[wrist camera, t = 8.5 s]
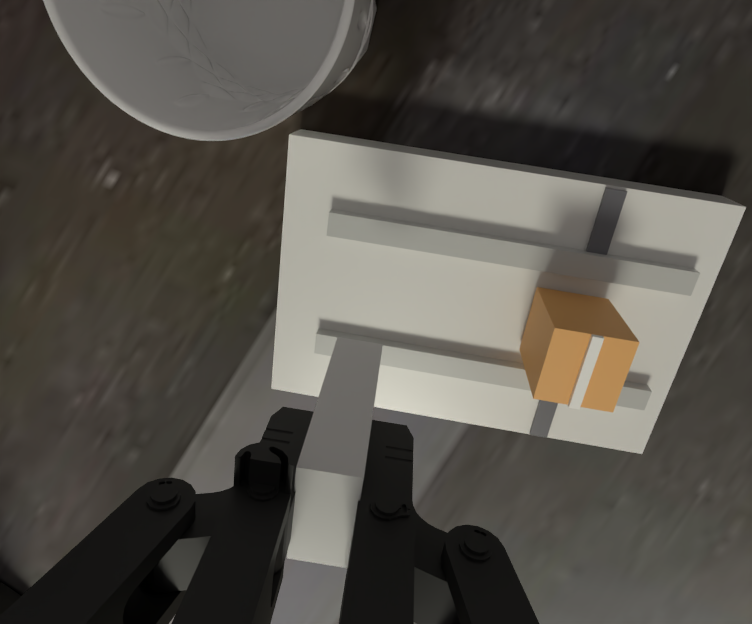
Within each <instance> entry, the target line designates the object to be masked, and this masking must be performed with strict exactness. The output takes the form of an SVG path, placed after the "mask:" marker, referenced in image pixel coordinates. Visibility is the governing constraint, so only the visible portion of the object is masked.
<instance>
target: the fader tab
mask: <svg viewBox="0 0 752 624" xmlns="http://www.w3.org/2000/svg"><path fill="white" fill-rule="evenodd" d="M639 343H640V342H639V341H638V339H637V338H636V336H635V335H634V334H633V332H632V331H631V329H630V328H629V327H628V325H627V324H626V323H625V321H624V320H623V318H622V317H621V316H620V314H619V313H618V311H617V310H616V309H615V307H614V306H613V304H612V303H611V302H610V300H609V299H607V298H601V297H594V296H588V295H582V294H576V293H570V292H564V291H558V290H552V289H546V288H540V287H537V288H536V291H535V295H534V299H533V302H532V306H531V309H530V313H529V316H528V320H527V324H526V327H525V331H524V334H523V338H522V341H521V345H520V349H519V350H520V354H521V357H522V361H523V364H524V368H525V371H526V375H527V379H528V382H529V386H530V389H531V393H532V396H533V399H538V400H543V401H549V402H555V403H561V404H566V405H568V407H569V408H573V409H579V410H580V407H584V408H589V409H595V410H601V411H607V412H612V413H613V411H614V409H615V406H616V403H617V401H618V398H619V395H620V393H621V390H622V388H623V385H624V382H625V380H626V377H627V374H628V372H629V369H630V367H631V364H632V361H633V359H634V356H635V353H636V351H637V348H638V346H639Z"/></svg>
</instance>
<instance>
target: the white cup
mask: <svg viewBox="0 0 752 624" xmlns="http://www.w3.org/2000/svg"><path fill="white" fill-rule="evenodd" d="M43 2H44V4H45V7H46V10H47V12H48V15H49V17H50V19H51V21H52V24H53V26H54V28H55V30H56V32H57V34H58V36H59V37H60V39H61V41H62V43H63V44H64V46H65V48H66V49H67V51H68V53H69V54H70V56H71V57H72V59H73V60H74V61H75V63H76V64H77V65H78V67H79V68H80V69H81V71H82V72H83V73H84V74H85V76H86V77H87V78H88V79H89V80H90V81H91V82H92V83H93V85H94V86H95V87H96V88H97V89H98V90H99V91H100V92H101V93H102V94H104V95H105V96H106V97H107V98H108V99H109V100H110V101H112V102H113V103H114V104H115V105H117V106H118V107H119V108H120V109H122V110H123V111H125V112H126V113H128V114H129V115H131V116H132V117H134V118H136V119H137V120H139V121H141V122H143V123H145V124H146V125H149V126H151V127H153V128H155V129H157V130H160V131H162V132H165V133H168V134H171V135H175V136H178V137H182V138H187V139H193V140H202V141H225V140H233V139H239V138H243V137H247V136H251V135H254V134H257V133H260V132H262V131H264V130H267V129H269V128H271V127H273V126H275V125H277V124H278V123H280V122H282V121H284V120H285V119H287V118H289V117H291V116H292V115H294V114H296V113H298V112H299V111H301V110H303V109H305V108H307V107H309V106H311V105H312V104H314V103H315V102H317V101H318V100H320V99H321V98H322V97H324V96H325V95H326V94H328V93H329V92H331V91H332V90H333V89H335V88H336V87H337V86H338V85H339V84H340V83H341V82H343V81H344V80H345V79H346V78H347V76H348V75H349V74H350V72H351V71H352V70H353V68H354V67H355V66H356V64H357V63H358V62H359V60H360V59H361V58H362V56H363V55H364V54H365V52H366V51H367V49H368V45H369V40H370V36H371V32H372V27H373V23H374V19H375V14H376V10H377V7H376V1H375V0H43Z"/></svg>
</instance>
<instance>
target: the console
mask: <svg viewBox="0 0 752 624" xmlns="http://www.w3.org/2000/svg"><path fill="white" fill-rule="evenodd" d="M745 209H746V207H745V206H743V205H741V204H739V203H736V202H734V201H732V200H730V199H728V198H726V197H724V196H720V195H713V194H707V193H701V192H694V191H688V190H682V189H676V188H669V187H663V186H657V185H650V184H644V183H638V182H631V181H625V180H619V179H612V178H606V177H600V176H593V175H587V174H581V173H574V172H568V171H562V170H556V169H549V168H543V167H537V166H530V165H524V164H518V163H511V162H505V161H499V160H492V159H486V158H480V157H473V156H467V155H461V154H454V153H448V152H442V151H435V150H429V149H423V148H417V147H410V146H404V145H398V144H391V143H385V142H379V141H372V140H366V139H360V138H353V137H347V136H341V135H334V134H328V133H322V132H315V131H309V130H303V129H300V130H298V131H296V132H293V133H291V134H289V145H288V159H287V173H286V188H285V202H284V216H283V230H282V244H281V259H280V273H279V287H278V301H277V316H276V330H275V344H274V358H273V373H272V387H271V389H277V390H282V391H288V392H294V393H299V394H305V395H311V396H316V397H319V394H320V391H321V387H322V384H323V381H324V378H325V375H326V372H327V369H328V365H329V362H330V359H331V356H332V353H333V350H334V346H335V343H336V340H337V337H341V338H347V339H353V340H360V341H366V342H372V343H378V344H383V346H382V353H381V360H380V367H379V374H378V382H377V389H376V396H375V403H374V407H379V408H384V409H390V410H396V411H401V412H407V413H413V414H418V415H424V416H430V417H435V418H441V419H447V420H452V421H458V422H464V423H469V424H475V425H481V426H486V427H492V428H498V429H503V430H509V431H515V432H520V433H526V434H530V435H534V436H539V437H545V438H547V437H549V438H554V439H560V440H566V441H571V442H577V443H583V444H588V445H594V446H600V447H605V448H611V449H617V450H622V451H628V452H634V453H639V454H642V453H643V450H644V448H645V446H646V443H647V441H648V439H649V436H650V434H651V432H652V429H653V427H654V424H655V422H656V420H657V417H658V415H659V413H660V410H661V408H662V405H663V403H664V401H665V398H666V396H667V394H668V391H669V389H670V387H671V384H672V382H673V379H674V377H675V375H676V372H677V370H678V368H679V365H680V363H681V360H682V358H683V356H684V353H685V351H686V349H687V346H688V344H689V342H690V339H691V337H692V334H693V332H694V330H695V327H696V325H697V323H698V320H699V318H700V315H701V313H702V311H703V308H704V306H705V304H706V301H707V299H708V297H709V294H710V292H711V289H712V287H713V285H714V282H715V280H716V278H717V275H718V273H719V270H720V268H721V266H722V263H723V261H724V259H725V256H726V254H727V252H728V249H729V247H730V244H731V242H732V240H733V237H734V235H735V233H736V230H737V228H738V225H739V223H740V221H741V218H742V216H743V214H744V211H745ZM537 287H540V288H546V289H552V290H558V291H564V292H570V293H576V294H582V295H588V296H594V297H601V298H607V299H609V300H610V302H611V303H612V304H613V306H614V307H615V309H616V310H617V311H618V313H619V314H620V316H621V317H622V318H623V320H624V321H625V323H626V324H627V325H628V327H629V328H630V329H631V331H632V332H633V334H634V335H635V336H636V338H637V339H638V341H639V342H640V343H639V346H638V348H637V351H636V353H635V356H634V359H633V361H632V364H631V367H630V369H629V372H628V374H627V377H626V380H625V382H624V385H623V388H622V390H621V393H620V395H619V398H618V401H617V403H616V406H615V409H614V411H613V413H612V412H607V411H601V410H595V409H589V408H584V407H580V410H579V409H573V408H569V407H568V405H566V404H561V403H555V402H549V401H543V400H538V399H533V396H532V393H531V389H530V386H529V382H528V379H527V375H526V371H525V368H524V364H523V361H522V357H521V354H520V350H519V349H520V345H521V341H522V338H523V334H524V331H525V327H526V324H527V320H528V316H529V313H530V309H531V306H532V302H533V299H534V295H535V291H536V288H537Z"/></svg>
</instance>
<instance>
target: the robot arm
mask: <svg viewBox="0 0 752 624" xmlns="http://www.w3.org/2000/svg"><path fill="white" fill-rule="evenodd" d="M382 346H383V344H378V343H372V342H366V341H360V340H353V339H347V338H341V337H337V340H336V343H335V346H334V350H333V353H332V356H331V359H330V362H329V365H328V369H327V372H326V375H325V378H324V381H323V384H322V387H321V391H320V394H319V397H318V400H317V403H316V406H315V410H314V412H312V411H306V410H299V409H293V408H287V407H282V408H281V409H280V410H279V411H277V412H276V413H275V414H273V415H272V416H271V418H270V421H269V423H268V425H267V427H266V430H265V432H264V434H263V437H262V440H261V441H260V443H255V444H251V445H248V446H246V447H244V448H243V449H241V450H240V451H239V452H238V453H237V455H236V456H235V470H234V486H233V487H232V488H230V489H227V490H224V491H220V492H214V493H204V494H195V490H194V489H193V487H192V486H191V484H189V483H187V482H185V481H184V480H181V479H175V478H162V479H157V480H154V481H151V482H148V483H146V484H145V485H143V486H142V487H140V488H139V489H138V490H136V491H135V492H134V493H133V494H132V495H131V496H130V497H129V498H128V499H127V500H126V501H124V502H123V503H122V504H121V505H120V506H119V507H118V508H117V509H116V510H115V511H114V512H112V513H111V514H110V515H109V516H108V517H107V518H106V519H105V520H104V521H103V522H102V523H100V524H99V525H98V526H97V527H96V528H95V529H94V530H93V531H92V532H91V533H90V534H88V535H87V536H86V537H85V538H84V539H83V540H82V541H81V542H80V543H79V544H78V545H77V546H75V547H74V548H73V549H72V550H71V551H70V552H69V553H68V554H67V555H66V556H65V557H63V558H62V559H61V560H60V561H59V562H58V563H57V564H56V565H55V566H54V567H53V568H51V569H50V570H49V571H48V572H47V573H46V574H45V575H44V576H43V577H42V578H41V579H39V580H38V581H37V582H36V583H35V584H34V585H33V586H32V587H31V588H30V589H29V590H27V591H26V592H25V593H24V594H23V595H22V596H20V595H19V594H18V593H16V592H15V591H14V590H12V589H10V588H9V587H7V586H6V585H4V584H2V583H1V582H0V624H169V622H170V621H171V620H172V618H173V617H174V616H175V617H174V619H173V622H172V624H270V623H271V619H272V615H273V612H274V608H275V604H276V600H277V597H278V593H279V589H280V586H281V582H282V578H283V569H284V561H285V557H286V554H287V558H289V559H295V560H301V561H307V562H313V563H319V564H325V565H331V566H337V567H343V568H347V574H346V580H345V586H344V592H343V598H342V605H341V612H340V619H339V624H413V622H415V623H417V624H539V622H538V620H537V618H536V616H535V613H534V611H533V609H532V607H531V605H530V602H529V600H528V598H527V596H526V594H525V592H524V589H523V587H522V585H521V583H520V581H519V579H518V576H517V574H516V572H515V570H514V568H513V565H512V563H511V561H510V559H509V557H508V555H507V552H506V550H505V548H504V546H503V545H502V543H501V542H500V541H499V539H498V538H497V537H496V536H494V535H493V534H492V533H491V532H489V531H488V530H485V529H483V528H480V527H478V526H472V525H462V526H457V527H455V528H453V529H452V530H451V531H449V532H448V533H446V532H444V531H442V530H439V529H437V528H435V527H433V526H431V525H429V524H428V523H426V522H425V521H424V520H423V519H422V518H421V517H420V516H419V515H418V514H417V513H416V511H415V509H414V507H413V502H412V482H413V436H412V434H411V433H410V431H409V429H408V427H407V426H406V425H400V424H394V423H388V422H381V421H375V420H372V417H373V410H374V403H375V396H376V389H377V382H378V374H379V367H380V360H381V353H382ZM287 550H288V552H287ZM175 614H176V615H175Z"/></svg>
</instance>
